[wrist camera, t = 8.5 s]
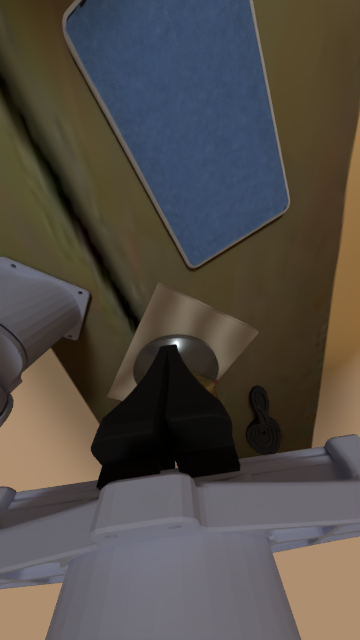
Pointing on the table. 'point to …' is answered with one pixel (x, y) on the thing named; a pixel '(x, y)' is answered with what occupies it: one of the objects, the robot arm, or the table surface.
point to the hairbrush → (263, 425)
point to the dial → (191, 351)
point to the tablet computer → (187, 111)
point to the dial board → (183, 332)
